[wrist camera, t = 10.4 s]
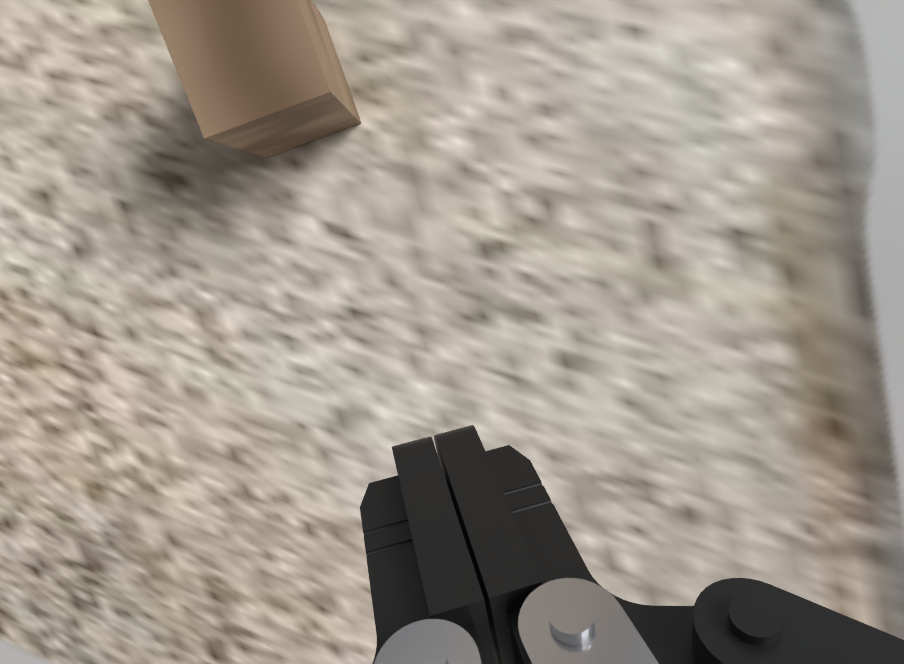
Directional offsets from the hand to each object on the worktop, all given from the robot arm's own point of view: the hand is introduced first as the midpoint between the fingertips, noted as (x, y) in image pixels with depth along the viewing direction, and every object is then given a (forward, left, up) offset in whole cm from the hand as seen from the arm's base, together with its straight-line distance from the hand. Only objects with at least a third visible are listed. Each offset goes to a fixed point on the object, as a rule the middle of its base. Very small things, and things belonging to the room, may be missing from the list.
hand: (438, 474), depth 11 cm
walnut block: (-5, +12, -21) cm, 25 cm away
